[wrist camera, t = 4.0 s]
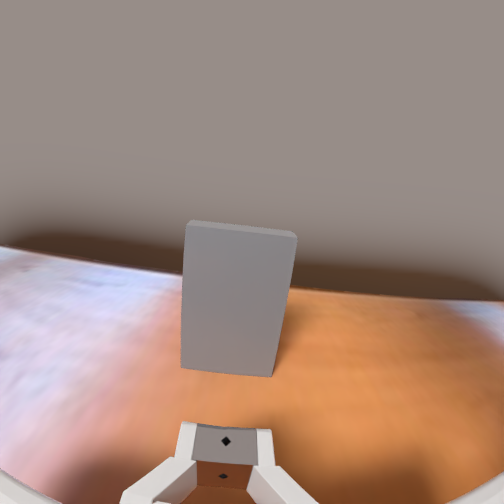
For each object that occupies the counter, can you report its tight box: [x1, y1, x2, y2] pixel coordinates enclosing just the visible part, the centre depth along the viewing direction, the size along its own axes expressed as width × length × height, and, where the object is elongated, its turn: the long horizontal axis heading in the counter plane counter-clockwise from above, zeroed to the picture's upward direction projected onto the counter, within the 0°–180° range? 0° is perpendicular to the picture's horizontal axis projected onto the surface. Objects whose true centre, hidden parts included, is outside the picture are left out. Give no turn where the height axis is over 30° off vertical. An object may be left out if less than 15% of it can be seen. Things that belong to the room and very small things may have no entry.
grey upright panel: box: [181, 220, 298, 377], centre depth 20 cm, size 2×7×11 cm, turn 92°
